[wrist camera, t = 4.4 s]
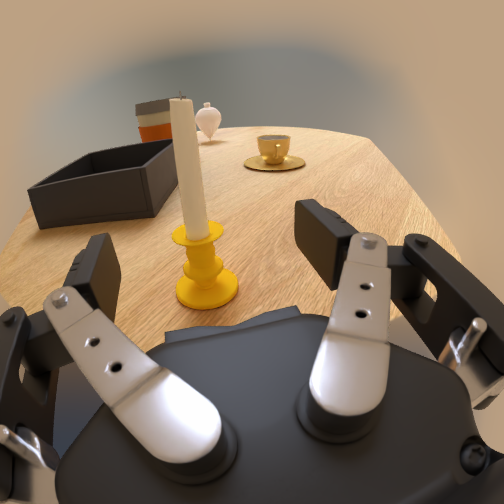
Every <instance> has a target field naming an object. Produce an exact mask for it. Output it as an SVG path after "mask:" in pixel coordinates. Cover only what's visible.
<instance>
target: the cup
mask: <svg viewBox="0 0 504 504" xmlns="http://www.w3.org/2000/svg"><path fill="white" fill-rule="evenodd" d="M257 143H258V149H259V152H260V154H261V156H256V157H252V158H249V159H247V160H246V161H245V162H244V165H245V166H247V167H250V168H254V169H261V170H284V169H292V168H296V167H300V166H302V165H304V164H305V161H304V160H303V159H301V158H299V157H296V156H290V155H287V154H288V151H289V147H290V136H287V135H263V136H259V137H257Z"/></svg>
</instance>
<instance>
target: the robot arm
mask: <svg viewBox="0 0 504 504" xmlns="http://www.w3.org/2000/svg"><path fill="white" fill-rule="evenodd" d="M294 236H295V241H296V244H297V246H298V248H299V249H300V250H301V252H302V253H303V254H304V256H305V257H306V258H307V260H308V261H309V262H310V264H311V265H312V266H313V267H314V269H315V270H316V271H317V273H318V274H319V275H320V277H321V278H322V279H323V281H324V282H325V283H326V285H327V286H328V287H329V289H330V290H331V291H332V290H336V289H337V293H336V297H335V301H334V304H333V308H332V311H331V315H330V317H327V316H322V315H316V314H301V313H300V311H299V309H298V307H297V306H296V305H295V306H290V307H286V308H282V309H278V310H273V311H269V312H265V313H263V314H260V315H258V316H256V317H253V318H251V319H249V320H247V321H244V322H242V323H240V324H237V325H234V326H196V327H191V328H185V329H180V330H174V331H168V332H165V342H164V343H162V344H160V345H158V346H156V347H154V348H152V349H151V350H149V351H147V352H146V353H144V352H143V351H142V350H141V349H140V348H139V347H138V346H136V345H135V344H134V343H133V342H132V341H131V340H130V339H129V338H128V337H127V336H126V335H125V334H124V333H123V332H122V331H121V330H120V329H119V328H118V327H117V326H116V325H115V324H114V320H115V313H116V306H117V300H118V294H119V288H120V282H121V270H120V265H119V262H118V259H117V256H116V253H115V250H114V246H113V243H112V240H111V237H110V235H109V233H104V234H99V235H94V236H91V238H90V240H89V242H88V245H87V247H86V249H83V250H82V251H81V252H80V253H79V254H78V255H77V256H76V257H75V259H74V261H73V263H72V266H71V268H70V270H69V271H70V272H68V274H67V277H66V279H65V282H64V284H63V286H62V287H61V288H58V289H56V290H54V291H53V292H51V293H50V294H49V295H48V296H47V297H46V299H45V300H44V302H43V309H44V310H41V311H39V312H37V313H34V314H32V315H30V316H27V314H26V313H25V311H24V309H23V308H22V307H13V308H10V309H8V310H7V311H6V312H4V313H3V314H2V315H1V316H0V504H504V454H502V453H499V452H497V451H495V450H493V449H491V448H490V447H488V446H487V445H486V444H485V442H484V441H483V440H482V438H481V436H480V434H479V432H478V429H477V426H476V423H475V420H474V416H473V411H472V408H473V409H476V410H482V409H485V408H486V407H488V406H489V405H490V403H491V402H492V401H493V400H494V399H495V398H496V397H497V396H498V395H499V394H500V393H501V391H502V390H503V389H504V305H503V303H502V302H500V300H499V299H498V298H497V297H496V296H495V295H494V294H493V293H492V292H491V291H490V290H489V289H488V288H487V287H486V286H485V285H483V284H482V283H481V282H480V281H479V280H478V279H477V278H476V277H475V276H474V275H473V274H472V273H471V272H469V271H468V270H467V269H466V268H465V267H464V266H463V265H462V264H461V263H460V262H458V261H457V260H456V259H455V258H454V257H453V256H452V255H450V254H449V253H448V252H447V251H446V250H445V249H443V248H442V247H441V246H440V245H439V244H437V243H436V242H435V241H434V240H432V239H431V238H429V237H427V236H425V235H422V234H408V235H406V236H405V239H404V244H403V246H387V242H386V240H385V239H384V238H382V237H381V236H379V235H376V234H373V233H368V232H361V233H360V232H358V231H357V230H356V229H355V228H354V227H353V226H351V225H350V224H349V223H348V222H346V220H344V219H343V218H341V216H340V215H338V214H337V213H336V212H334V211H332V210H330V209H327V208H324V207H323V206H321V205H320V204H319V203H318V202H317V201H315V200H314V199H307V200H299V201H296V203H295V222H294ZM427 279H429V280H430V282H431V283H432V284H433V285H434V286H435V287H436V290H437V300H436V302H434V301H433V299H432V298H431V297H430V296H429V295H428V294H427V293H426V292H425V291H424V288H425V285H426V282H427ZM390 299H391V300H392V301H393V303H394V304H395V305H396V306H397V308H398V309H399V310H400V312H401V313H402V314H403V315H404V317H405V318H406V319H407V320H408V322H409V323H410V324H411V326H412V327H413V328H414V330H415V331H416V332H417V334H418V335H419V336H420V338H421V339H422V340H423V342H424V343H425V344H426V346H427V347H428V348H429V350H430V351H431V353H432V354H433V355H434V357H435V358H436V360H437V361H438V362H436V361H434V360H431V359H428V358H426V357H424V356H421V355H419V354H416V353H414V352H411V351H409V350H407V349H404V348H402V347H399V346H397V345H394V344H392V343H390V342H388V334H389V320H390ZM74 361H75V363H76V364H77V365H78V367H79V368H80V370H81V371H82V373H83V374H84V375H85V376H86V378H87V380H88V381H89V382H90V383H91V385H92V386H93V388H94V389H95V390H96V392H97V393H98V394H99V396H100V397H101V398H102V399H103V400H104V403H103V404H102V405H101V407H100V408H99V409H98V410H97V412H96V413H95V414H94V416H93V417H92V418H91V419H90V421H89V422H88V424H87V425H86V426H85V427H84V429H83V430H82V431H81V432H80V434H79V435H78V436H77V438H76V439H75V441H74V442H73V443H72V444H71V446H70V447H69V448H68V450H67V451H66V452H65V454H64V455H63V457H62V458H61V459H60V458H59V455H58V453H57V452H56V450H55V449H54V448H53V425H54V411H55V400H56V391H57V382H58V374H59V367H62V366H64V365H67V364H69V363H72V362H74ZM20 364H22V365H23V366H24V368H25V373H24V379H23V383H21V381H20V378H19V367H20Z"/></svg>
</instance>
